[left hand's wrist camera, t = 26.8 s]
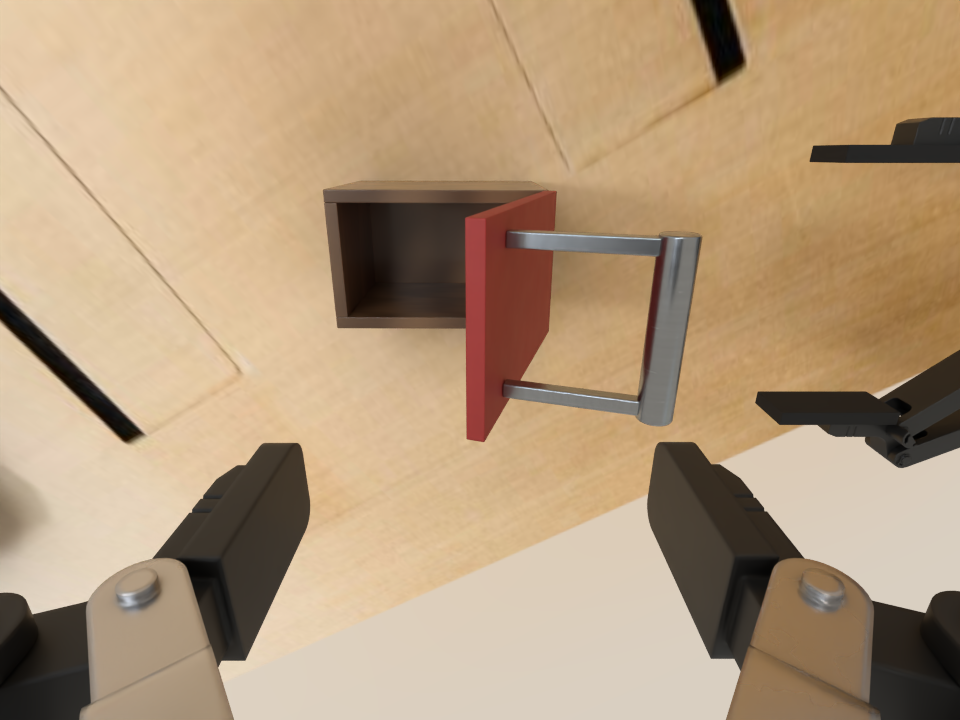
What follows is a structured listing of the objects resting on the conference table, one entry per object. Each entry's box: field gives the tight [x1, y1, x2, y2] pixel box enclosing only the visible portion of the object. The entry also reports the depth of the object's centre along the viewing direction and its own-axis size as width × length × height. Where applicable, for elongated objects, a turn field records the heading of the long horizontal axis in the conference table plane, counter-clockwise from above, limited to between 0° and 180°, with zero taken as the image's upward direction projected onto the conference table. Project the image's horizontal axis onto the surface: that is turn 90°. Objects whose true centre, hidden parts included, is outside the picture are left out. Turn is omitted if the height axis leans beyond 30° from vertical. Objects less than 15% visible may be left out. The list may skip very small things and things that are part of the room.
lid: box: [465, 191, 702, 442], centre depth 26 cm, size 15×9×8 cm
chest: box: [323, 181, 549, 328], centre depth 39 cm, size 14×9×11 cm, turn 90°
